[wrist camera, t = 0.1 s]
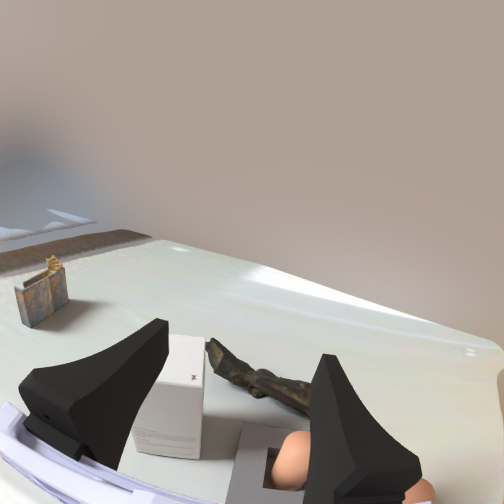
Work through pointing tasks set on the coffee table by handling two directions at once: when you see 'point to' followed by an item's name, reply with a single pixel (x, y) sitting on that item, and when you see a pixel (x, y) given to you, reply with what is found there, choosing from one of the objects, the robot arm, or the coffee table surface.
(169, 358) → the supplement box
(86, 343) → the coffee table surface
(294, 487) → the pin
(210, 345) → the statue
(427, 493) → the pin
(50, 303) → the ruin model on sheet
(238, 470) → the pegboard
